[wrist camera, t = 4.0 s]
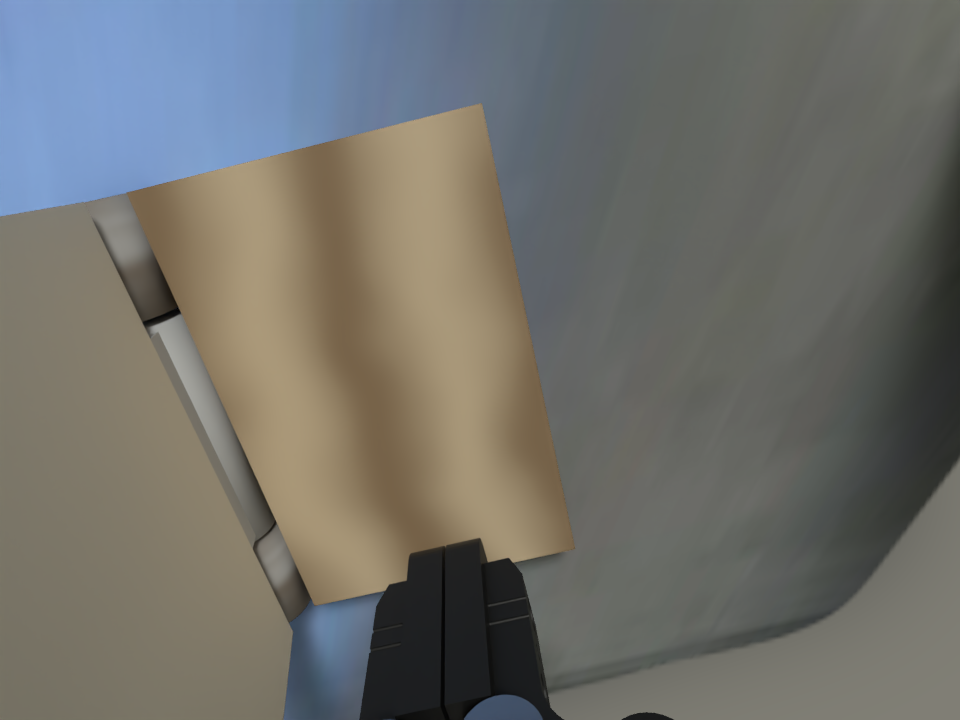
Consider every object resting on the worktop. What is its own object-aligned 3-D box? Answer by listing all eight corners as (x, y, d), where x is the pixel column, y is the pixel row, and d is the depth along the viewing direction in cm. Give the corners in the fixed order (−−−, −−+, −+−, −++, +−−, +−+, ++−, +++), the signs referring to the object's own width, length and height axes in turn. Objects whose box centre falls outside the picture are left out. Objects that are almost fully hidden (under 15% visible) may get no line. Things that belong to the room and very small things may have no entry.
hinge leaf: (60, 211, 20) (141, 190, 20) (253, 592, 27) (311, 572, 27) (-839, 381, 5) (-461, 290, 5) (131, 1160, 12) (267, 1099, 12)
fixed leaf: (478, 105, 20) (483, 101, 17) (566, 518, 26) (579, 563, 24) (69, 208, 20) (9, 221, 17) (257, 586, 27) (235, 638, 24)
